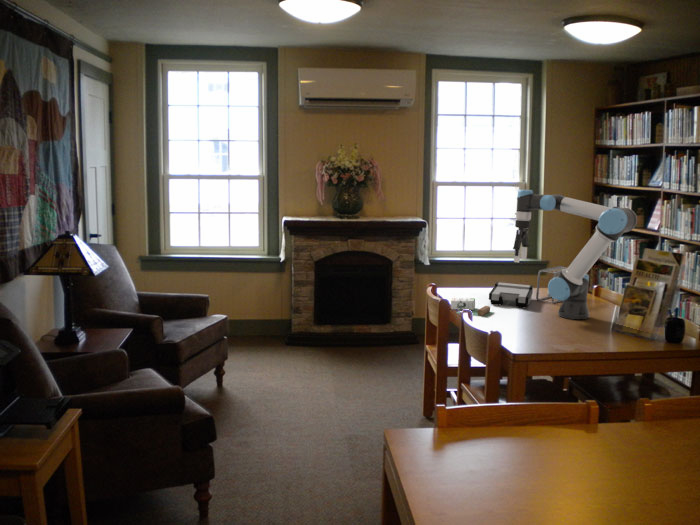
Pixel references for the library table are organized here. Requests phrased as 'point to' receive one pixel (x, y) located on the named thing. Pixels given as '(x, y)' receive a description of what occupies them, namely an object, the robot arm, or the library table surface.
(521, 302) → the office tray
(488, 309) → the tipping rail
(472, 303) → the ink box
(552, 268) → the newton's cradle
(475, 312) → the felt mat
